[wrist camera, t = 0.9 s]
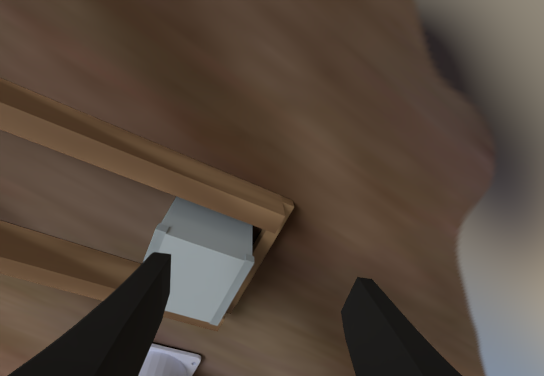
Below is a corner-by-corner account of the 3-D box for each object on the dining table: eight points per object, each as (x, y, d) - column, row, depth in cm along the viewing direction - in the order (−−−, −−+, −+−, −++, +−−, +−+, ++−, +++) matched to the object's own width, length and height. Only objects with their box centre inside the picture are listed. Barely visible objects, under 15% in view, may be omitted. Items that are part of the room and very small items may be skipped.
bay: (231, 304, 25) (228, 334, 22) (-162, 188, 18) (-235, 210, 15) (292, 200, 21) (298, 221, 18) (-194, -4, 14) (-303, -20, 11)
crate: (224, 275, 24) (217, 325, 19) (153, 252, 22) (128, 301, 18) (254, 220, 21) (254, 262, 17) (177, 190, 20) (155, 228, 15)
